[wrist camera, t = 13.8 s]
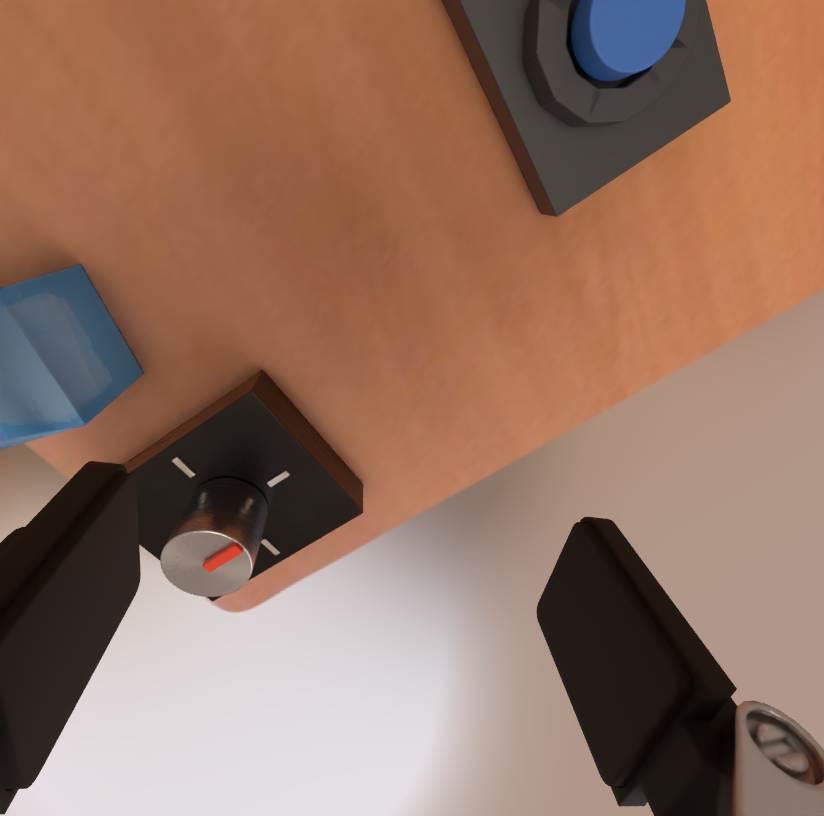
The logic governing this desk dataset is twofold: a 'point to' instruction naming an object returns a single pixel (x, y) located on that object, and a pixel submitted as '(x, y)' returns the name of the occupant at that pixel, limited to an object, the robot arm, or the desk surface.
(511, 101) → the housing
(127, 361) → the perfume bottle
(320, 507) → the panel
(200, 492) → the knob
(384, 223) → the desk surface
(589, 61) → the button
